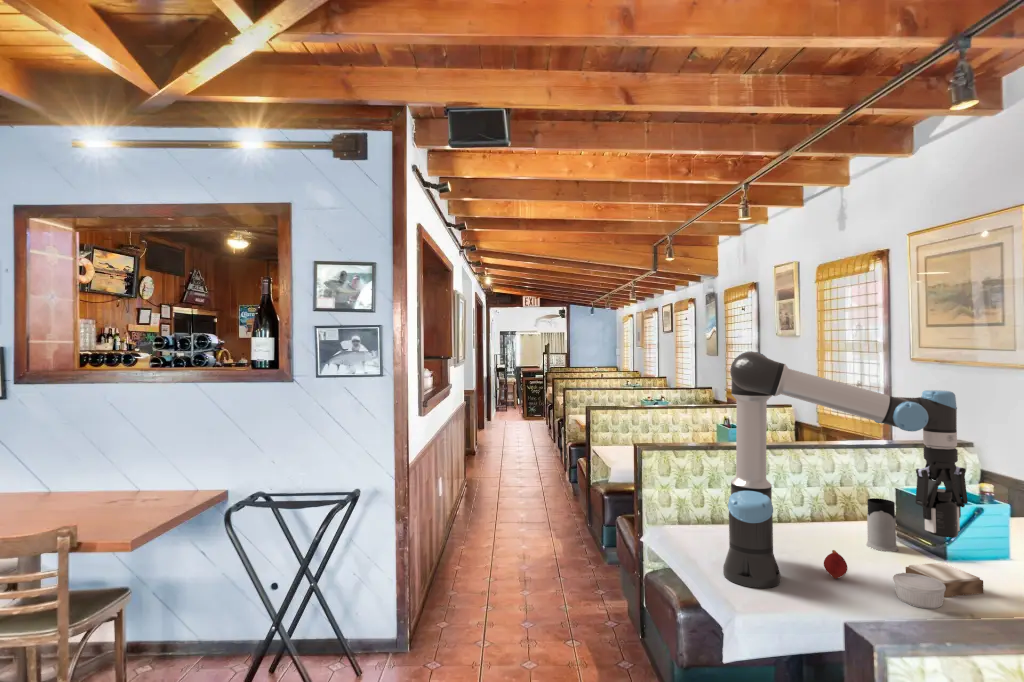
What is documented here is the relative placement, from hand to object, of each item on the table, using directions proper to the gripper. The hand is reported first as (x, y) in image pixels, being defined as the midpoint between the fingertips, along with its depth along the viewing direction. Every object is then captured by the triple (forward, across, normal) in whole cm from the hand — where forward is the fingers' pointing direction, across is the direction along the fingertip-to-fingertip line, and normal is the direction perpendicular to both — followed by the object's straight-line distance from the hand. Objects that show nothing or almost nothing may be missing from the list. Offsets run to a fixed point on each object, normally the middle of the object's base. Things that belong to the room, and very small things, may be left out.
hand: (942, 530), depth 156 cm
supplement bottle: (+1, 0, 0) cm, 1 cm away
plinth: (+15, 0, 0) cm, 15 cm away
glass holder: (+15, +10, +32) cm, 37 cm away
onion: (+15, -25, +10) cm, 31 cm away
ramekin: (+16, -14, -7) cm, 22 cm away
